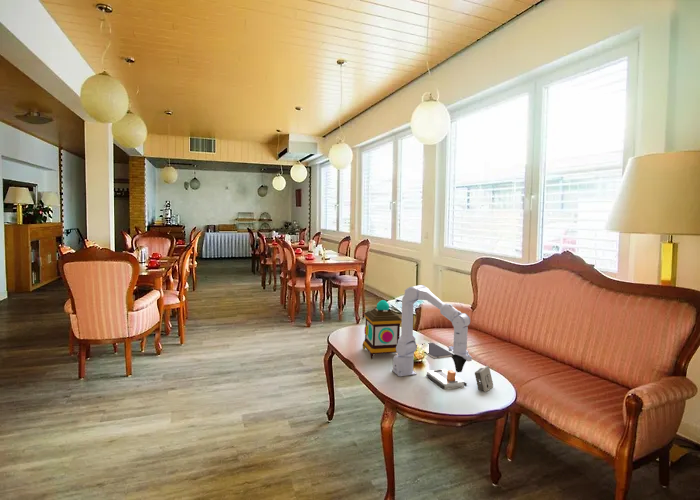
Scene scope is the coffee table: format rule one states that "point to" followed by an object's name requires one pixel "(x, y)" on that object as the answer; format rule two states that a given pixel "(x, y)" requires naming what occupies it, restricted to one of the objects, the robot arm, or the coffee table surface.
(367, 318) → the decorative lantern
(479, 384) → the electrical switch
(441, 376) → the breaker panel
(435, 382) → the cord left
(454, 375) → the block
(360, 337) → the coffee table surface
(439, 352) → the notebook
